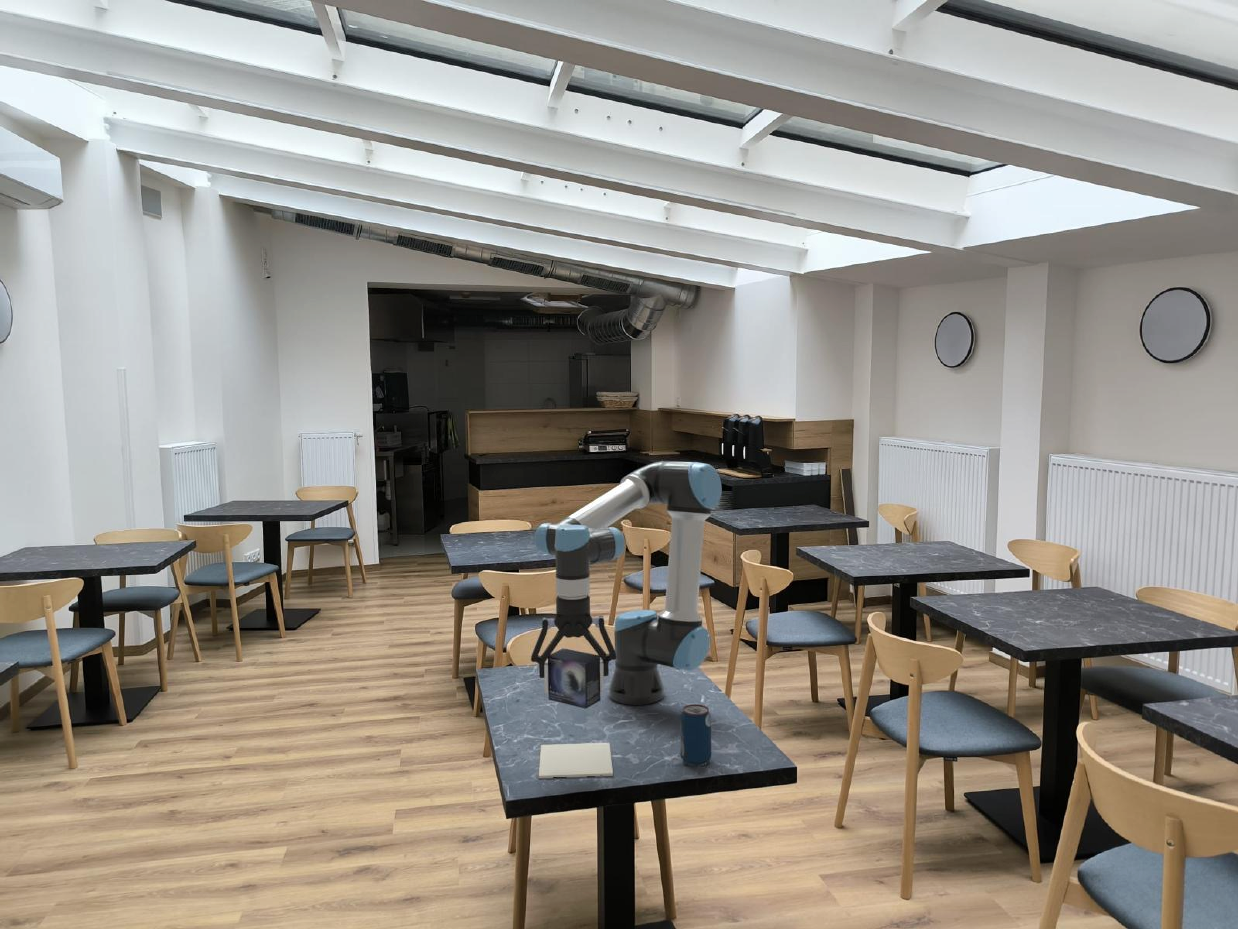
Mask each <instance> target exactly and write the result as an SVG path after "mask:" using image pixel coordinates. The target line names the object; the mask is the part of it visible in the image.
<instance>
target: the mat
mask: <svg viewBox="0 0 1238 929" xmlns="http://www.w3.org/2000/svg"><path fill="white" fill-rule="evenodd" d="M610 745H611V744H610V742H589V743H588V742H587V743H559V744H556V743H555V744H541V745H540V753H539V754H540V755H539V768H538V769H539V770H538V779H539V778H540V779H554V778H553V777H567V778H586V777H587V776H595V777H613V776H614V770H613V763H612V755H611V753H612V752H611V746H610ZM600 775H602V776H600ZM587 778H588V777H587Z"/></svg>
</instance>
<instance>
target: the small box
mask: <svg viewBox="0 0 1238 929" xmlns="http://www.w3.org/2000/svg"><path fill="white" fill-rule="evenodd" d="M600 660H601V658H600V656H599V655H598V654H595V653H594V654H593V653H588V652H584V651H579V650H573V649H569V648H561V649H559V650H557V651H555V652H554V651H553V652H552V653H551V654H550V656H549V657H548V659H547V661H548V700H549V701H552V702H558V703H561V704H565V705H569V706H574V707H577V708H581V709H586V710H587V709H588V708H590V707H591V706H593V705H595V704H597V703H598V702H601V701H602V699H601V692H600Z"/></svg>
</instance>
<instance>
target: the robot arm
mask: <svg viewBox="0 0 1238 929" xmlns="http://www.w3.org/2000/svg"><path fill="white" fill-rule="evenodd" d="M722 491H723V490H722V481H721V478H720V475H719V473H718V472H717V470H716V468H715V467H714V466H713V465H711V464H708V463H703V462H698V461H669V460H661V461H660V460H659V461H656V462H652V463H648V464H646V465H644V466H642V467H640V468H638V469H635V470H633V471H632V472H630V473H629V474H627V475H626V476H624V477H622V478H621V480H620V482H619V484H618V485H617V486H615V487H614V488H612V489H610V490H609V491H607V492H606V493H604V494H602V495H600V496H598V497H597V498H596V499H594V500H592V501H591V502H589V503H588V504H586V505H584V506H583V507H581V508H580V509H578V510H576V511H575V512H573V513H572V514H571V515H568V516H567V517H565V518H564V519H562V520H561V521H559V522H557V523H553V522H545V523H542V524H540V525H539V526H538V527H537V529H536V531H535V533H534V544H535V547H536V549H537V550H538V551H539V552H540V553H542V554H545V555H549V556H552V557H553V556H555V557H554V558H555V594H556V595H557V596H556V598H555V611H556V612H555V613H556V614H555V617H554V618H548V617H546V616H545V617H544V616H543V618H542V623H541V630H540V633H539V635H538V638H537V640H536V642H535V646H534V647H533V651H532V653H531V656H530V661H531V663H537V664H538V666H539V667H538V670H539V671H538V672H539V673H538V674H539V675H538V676H539V678H540V679H544V694H545V695H546V694H548V657H549V656H550V654H552V653H554V650H555V649H556V647H557V645H558V644H560V642H561V641H562V639H563V638H564V637H565V638H568V639H570V638H577V639H578V638H581V637H583V638H584V639H585V640H586V641H587V642H588V643H589V645H590V646H591V647H592V649H593V650H594V651H595V653H596V655H599V656H600V693H604V691H605V688H604V686H605V684H604V677H609V673H610V672H609V671H610V670H609V662H610V661H613V660H614V670H613V673H612V676H611V680H610V683H609V686H608V697H609V699H611V700H612V701H613V702H616V703H617V704H618V703H619V704H624V705H630V706H631V705H633V706H643V705H648V704H653V703H657V702H659V701H661V700H662V699H664V698H665V697H664V696H665V686H664V683H663V679H662V677H661V674H660V671H659V669H658V666H659V665H661V666H664V667H669V668H672V669H676V670H682V671H687V672H689V671H695V670H696V669H698V668H699V667H700V666H701V665H702V664H703V662H704V661H705V660H706V658H707V655H708V653H709V650H710V644H711V635H710V633H709V632H710V631H709V630H708V629H707V628H705V627H704V626H703V617H702V616H701V615H700V613H699V612H698V610H699V609H698V606H699V597H700V596H699V594H700V580H701V569H702V558H703V557H702V555H703V544H704V534H705V532H704V530H705V522H706V520H707V519H708V518H710V516H712V509H714V508H716V507H717V506H718V505H719V503H720V500H721V498H722V493H723V492H722ZM655 504H663V505H667V506H666V512H667V514H669V516H670V518H671V527H670V541H669V551H668V552H669V554H668V564H667V575H666V576H667V578H666V591H665V603H664V609H663V610H662V611H661V612H660V613H658V612H657V611H655V610H652V609H641V610H640V609H638V610H631V611H627V612H624V613H623V612H622V613H620V614H618V615H617V616H616V618H615V620H614V629H613V633H614V634H613V635H614V637H613V638H614V645H613V642H612V641H611V638H610V636H609V633H608V631H607V629H606V626H605V617H604V616H603V615H599V616H598V617H592V615H591V597H590V596H589V595H590V593H591V590H590V589H591V579H590V577H591V574H590V572H591V571H590V566H592V565H595V564H601V563H604V562H611V561H612V560H614V559H617V558H619V557H621V556H622V554H623V553H624V551H625V550H626V539H625V536H624V534H623V533H622V531H621V530H619V529H618V528H616V527H613V526H611V525H612V524H614V523H616V522H617V521H619V520H620V519H621V518H623V517H625V516H626V515H628V514H629V513H630V512H632V511H633V510H635V509H639V510H640V509H643V508H645V507H647V506H648V505H655ZM609 526H610V527H609ZM592 624H593V625H594V626H595V627H596V628H598V629H599V632H600V635H601V637H602V640H603V642H604V644H605V647H606V649H607V651H608V653H607V652H606V651H605V649H603V647H602V646H601V645H600V643H599V642H598V641H597V639H596V638H595V636H594V635H593V634H592V633H591V630H590V629H589V628H590V627H591V626H592ZM553 625H555V627H556V628H557V629H558V630H557V632H556V633H555V635H554V637H553V638H552V639H551V641H550V642H549V644H548V645H547V647H546V648H545V650H544V651H543V653H541V655H540V652H541V649H542V646H543V643H544V641H545V640H546V639H545V638H546V636H547V633H548V629H549V630H550V629H551V628H552V626H553Z"/></svg>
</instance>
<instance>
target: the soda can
mask: <svg viewBox="0 0 1238 929" xmlns="http://www.w3.org/2000/svg"><path fill="white" fill-rule="evenodd" d="M679 719H680V722H679V727H680V728H679V729H680V730H679V731H680V732H679V733H680V734H679V737H680V738H679V742H680V745H679V746H680V750H679V752H680V754H679V755H680V758H681V759H682V761H683V763H684V762H685V763H684V764H686V763H687V764H690V765H702V764H705V763H707V762H708V763H709V761H710V760H711V758H712V715H711V713H710V710H709V708H708V706H705V705H703V704H688V705H685V706H684V707H682V712H681V714H680V717H679ZM708 763H707V764H708ZM687 764H686V765H687ZM690 765H689V766H690ZM705 765H706V764H705Z"/></svg>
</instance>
